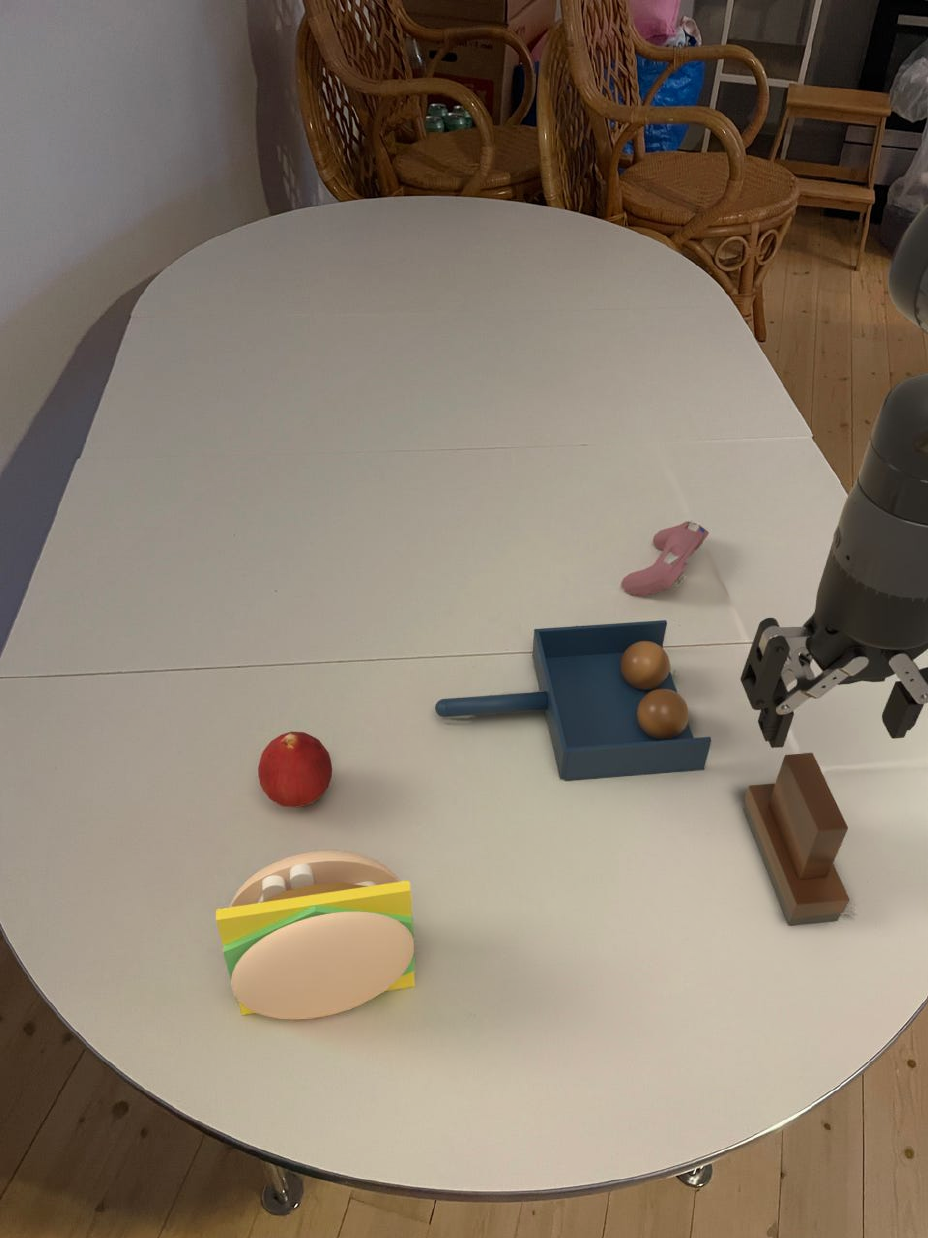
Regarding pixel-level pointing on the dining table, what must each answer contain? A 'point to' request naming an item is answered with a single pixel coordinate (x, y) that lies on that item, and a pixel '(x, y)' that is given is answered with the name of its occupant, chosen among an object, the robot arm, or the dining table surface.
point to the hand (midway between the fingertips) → (832, 733)
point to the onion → (295, 769)
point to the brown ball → (645, 665)
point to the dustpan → (592, 704)
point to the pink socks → (667, 559)
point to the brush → (800, 840)
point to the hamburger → (317, 935)
